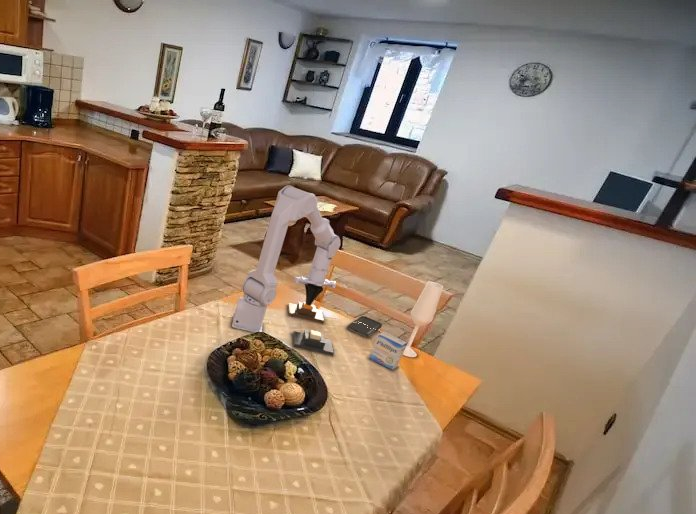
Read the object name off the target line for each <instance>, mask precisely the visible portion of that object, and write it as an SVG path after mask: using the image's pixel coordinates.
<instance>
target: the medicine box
mask: <svg viewBox="0 0 696 514" xmlns="http://www.w3.org/2000/svg"><path fill="white" fill-rule="evenodd" d="M375 339H376V340H375V341H374V344H373V346H372V348H371V351H370V354H369V356H368V359H369V360H371V361H373V362H375V363H377V364H379V365H381V366H383V367H385V368H387V369H389V370H391V371H392V370H395V369H396V368H397V367H398V366H399V365H400V362H401V359H402V358H403V356H404V355H403V353H404V350H405V348H406V346H407V344H408V341H405V340H403V339H401V338H399V337H396V336H394V335H392V334H391V333H388V332H386V331H382V332H380V333H379V334H377V337H376V338H375Z"/></svg>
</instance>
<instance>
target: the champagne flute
mask: <svg viewBox="0 0 696 514" xmlns="http://www.w3.org/2000/svg"><path fill="white" fill-rule="evenodd" d="M443 289H444V285H442V284H441V283H438V282H436V281H431V280H428V281H427V282H426V283H425V286H424V287H423V289H422V291H421V293H420V294H419V297H418V298H417V300H416V302H415V304H414V305H413V308H412V310H411V311H410V319H411V321H412V323H413V324H414V328H413V330H412V333H411V334H410V337H409V340H408V341H407V343H408V344H407V346H406V348H405V350H404V353H403V355H402V356H405V357H408V358H415V357H417V355H418V354H417V353H416V352H415V350H414V349H413V348H412V344H413V342H414V340H415V337H416V335H417V333H418V331H419V329H420V327H424V326H426V325H429V324H430V323H431V322H433V319H434V317H435V314H436V310H437V308H438V305H439V302H440V299H441V295H442V292H443Z"/></svg>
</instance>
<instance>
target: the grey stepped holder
mask: <svg viewBox="0 0 696 514" xmlns="http://www.w3.org/2000/svg"><path fill="white" fill-rule="evenodd" d="M309 333H310V330H306V329H304V331H303V332H300V331H295V330H293V332H292V341H293V342H292V345H293V348H296V349H301V350H305V351H310V352H314V353H318V354H323V355H327V356H331V357H333V356H334V354H335V351H334V347H333V342H332V339H330V338H326V337H325V334H323V333H321V340H316V339H312V338H310V336H309Z"/></svg>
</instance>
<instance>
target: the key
mask: <svg viewBox="0 0 696 514" xmlns="http://www.w3.org/2000/svg"><path fill="white" fill-rule="evenodd" d="M309 331H310V333H309V336H310V338H312V339H316V340H321V334H322V332H321V331H317V330H313V329H310V330H309Z"/></svg>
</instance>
